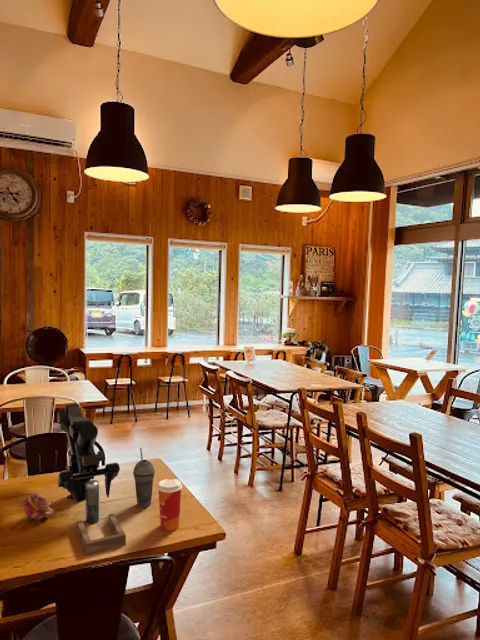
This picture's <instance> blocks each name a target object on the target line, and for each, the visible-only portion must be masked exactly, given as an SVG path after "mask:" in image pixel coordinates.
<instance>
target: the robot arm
mask: <svg viewBox="0 0 480 640" xmlns="http://www.w3.org/2000/svg"><path fill="white" fill-rule="evenodd" d="M56 420H57V425H59V428H60V431H62V432H64V433H65V434H66V438H67V442H68V447H69V452H70V458H69V465H68V467H67V469H66V470H64V471H60V472H59V473H58V477H57V487H58V488H62V489H63V490H64V489H66V490H67V492H68V493H70V494H69V495H67V496H66V497H67V499H71V500H74V501H75V503H76V504H77V505H78V504H79V503H80V502H81V501H84V500H86V482H88V481H91V480H95V479H94V478H95V477H98V476H104V488H105V494H106V498H109V497H110V492H111V491H110V489H111V484H112V481H113V480H114V479H115V478H116V477H118V475H119V472H120V469H121V468H120V464H119V463H118V462H112V463H106V464H105V467H104V468H100V464H101V462H104V461H105V460H106V454H105V450H99V451H97V452H96V451H95V446H94V445H95V443H96V440H97V436H98V433H99V430H98V427H97V426H96V425H95V424H94V422H92V420H91V419H90V418H89V417H86V416H84V415H83V413H82V409H81V407H80V404H79V403H71V404H66V405H64V407H63V408H61V409H60V410H59V411H58V413H57V419H56ZM99 468H100V469H99Z"/></svg>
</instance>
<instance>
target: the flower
mask: <svg viewBox="0 0 480 640" xmlns="http://www.w3.org/2000/svg"><path fill="white" fill-rule="evenodd" d="M51 503H52V502H50V501H49V500H48V499H47V498H46V497H44V496H43V494H41V493H38V492H35V493H34V492H32V493H28V494H27V495H26V498H25V500H23V505H24V508H23V509H24V510H23V511H25V514H26V521H27V520H29V521H30V520H31V519H33V521H37V522H40V520H41V519H43V518H45V517H47V516H48V515H52V514H53V513H54V509H52V508H51V507H50V505H51Z"/></svg>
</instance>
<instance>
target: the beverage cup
mask: <svg viewBox="0 0 480 640" xmlns="http://www.w3.org/2000/svg"><path fill="white" fill-rule="evenodd" d="M139 450H140V451H139V452H140V460H139V461H138V462H136V464H135V465H134V468H133V472H132V473H133V479H134V484H135V496H136V504H137V507H138V508H139V509H140V508H141V509H145V508H146V509H147V508H149V507H150V506H151V505H152V500H153V499H152V497H153V488H154V487H153V486H154V478H155V472H156V471H155V467H154V465H153V463H152V462H151V461H150V460H147V459H144V458H143V452H142V451H143V449H142V447H140V448H139Z"/></svg>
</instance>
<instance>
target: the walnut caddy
mask: <svg viewBox="0 0 480 640" xmlns="http://www.w3.org/2000/svg"><path fill="white" fill-rule="evenodd" d="M107 516H108V517H107V519H108V521H107V522H108V523H107V524H108V526H109V527H110V529H111V531H112V533H113V534H112V535H108V536H104V537H100V538H97V539H92V540H91V538H90V536H89V533H88V531H87V529H86V526H85V524H84V522H83V520H78V521H76V533H77V535H78V537H79V539H80V542H81V544H82V547H83V550H84V552H85V554H86V555H87V556H88V555H92V554H96V553H99V552H103V551H107V550H111V549H115V548H118V547H119V548H120V547H123V546H126V544H127V542H126V541H127V540H126V538H127V535H126V533H125V531H124V529H123V528H122V526H121V524H120V523H119V521H118V520H117V518H116V516H115V515H114V513H108V515H107Z"/></svg>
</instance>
